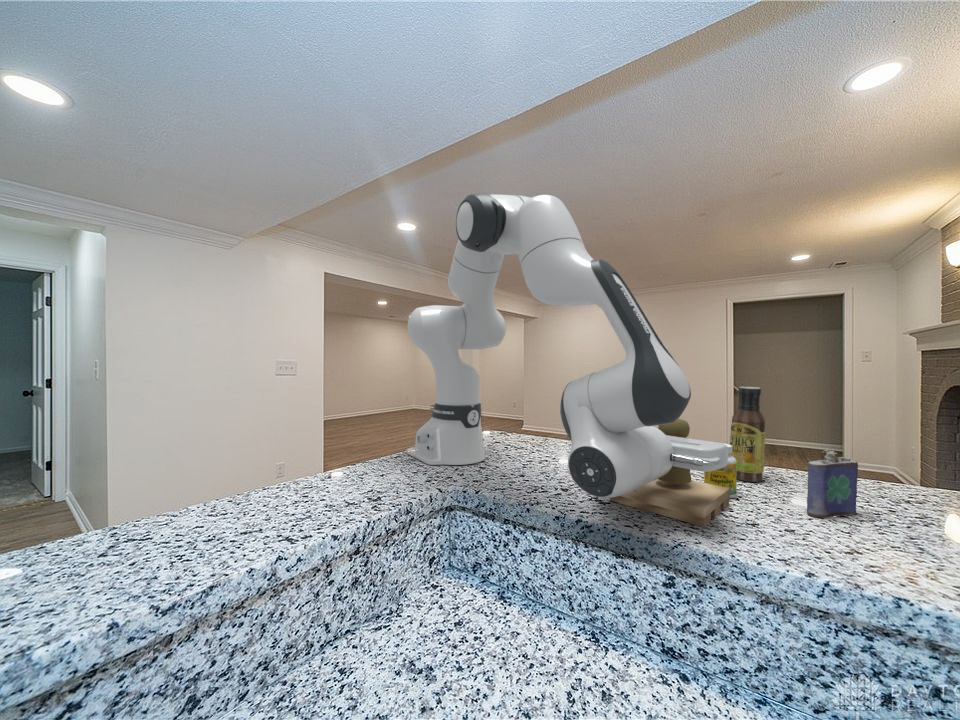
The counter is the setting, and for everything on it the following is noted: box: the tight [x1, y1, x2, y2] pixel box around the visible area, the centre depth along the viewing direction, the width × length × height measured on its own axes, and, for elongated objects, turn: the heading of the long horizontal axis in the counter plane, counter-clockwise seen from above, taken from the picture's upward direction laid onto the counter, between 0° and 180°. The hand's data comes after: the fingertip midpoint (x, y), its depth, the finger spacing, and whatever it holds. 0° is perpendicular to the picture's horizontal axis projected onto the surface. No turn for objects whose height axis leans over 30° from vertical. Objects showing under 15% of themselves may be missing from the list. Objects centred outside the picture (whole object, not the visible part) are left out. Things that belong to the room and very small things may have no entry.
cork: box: [657, 418, 692, 484], centre depth 75 cm, size 6×6×11 cm
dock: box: [609, 479, 730, 528], centre depth 74 cm, size 16×14×3 cm
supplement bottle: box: [703, 442, 737, 499], centre depth 78 cm, size 5×5×10 cm
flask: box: [806, 449, 859, 519], centre depth 69 cm, size 9×3×11 cm, turn 102°
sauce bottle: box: [729, 386, 766, 483], centre depth 88 cm, size 6×6×20 cm
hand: (675, 440), depth 75 cm, fingers closed on cork, 4 cm apart
